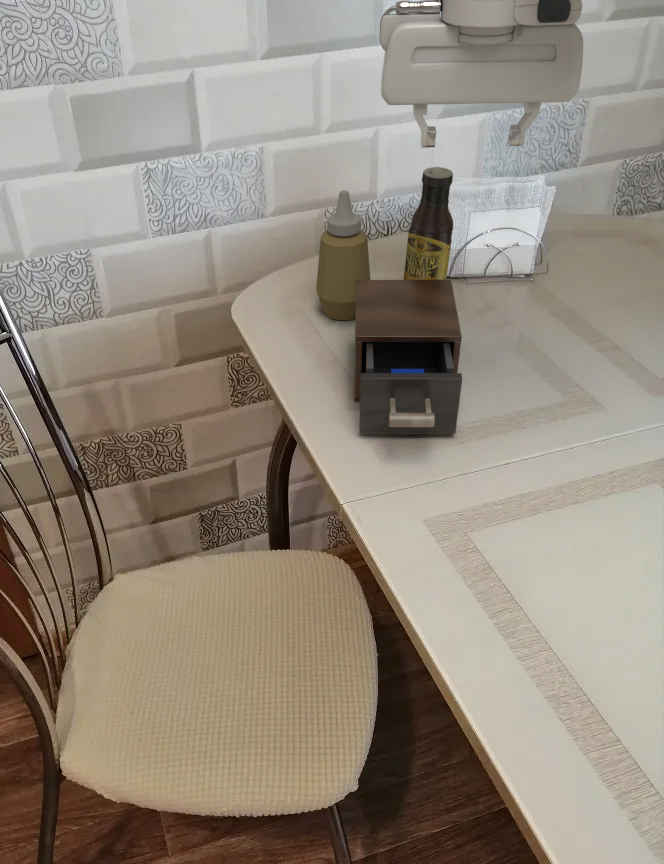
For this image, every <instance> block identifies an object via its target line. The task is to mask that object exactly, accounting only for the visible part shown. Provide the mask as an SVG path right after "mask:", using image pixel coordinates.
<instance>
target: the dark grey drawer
mask: <svg viewBox="0 0 664 864" xmlns="http://www.w3.org/2000/svg"><path fill="white" fill-rule="evenodd" d="M391 369H424V373H391ZM453 371H454V367H453V361H452V355H451V348H450V342H365V373H361V384H360V402H359V428H358V430H359V431H358V432H359V434H404V435H405V434H411V435H412V434H413V435H414V434H415V435H416V434H418V435H419V434H422V435H425V434H426V435H428V434H429V435H456V431H457V425H458V424H457V423H458V416H459V407H460V400H461V394H462V393H461V392H462V384H463V376H462V372H461V373H460V372H457V373H453Z"/></svg>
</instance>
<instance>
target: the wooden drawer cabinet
mask: <svg viewBox="0 0 664 864" xmlns="http://www.w3.org/2000/svg"><path fill="white" fill-rule="evenodd" d="M458 315H459V314H458V309H457V304H456V300H455V293H454V288H453V283H452V279H449V278H448V279H447V278H446V280H403V279H370V280H356V299H355V318H354V391H353V392H354V399H353V400H354V403H360V384H361V373H365V342H450V348H451V355H452V361H453V367H454V371H453V373H459V372H458V370H459V362H460V356H461V347H462V338H463V336H462V331H461V326H460V319H459V316H458Z"/></svg>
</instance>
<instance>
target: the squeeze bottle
mask: <svg viewBox="0 0 664 864" xmlns="http://www.w3.org/2000/svg"><path fill="white" fill-rule="evenodd" d="M326 219H327V220H326V230H325V231H324V232H323V233H322V234H321V236H320V243H319V251H318V252H319V253H318V264H317V273H316V274H317V277H316V286H315V287H316V288H315V290H316V294H317V297H318V300H319V302H320V305H321V308H322V310H323V313H324V315H326V317H328V318H330V319H333V320H335V321H351V320H355V299H356V280H371V270H370V257H369V256H370V255H369V243H368V235H367V233H366V232H365V231H363V230H362V228H361V227H362V219H361V216H360V215H358V214H357V213H355V212H354V211H353V207H352V202H351V198H350V192H349V190H340V191H339V194H338V198H337V204H336V208H335V213H331V214H330V215H329V216H328V217H327V218H326Z"/></svg>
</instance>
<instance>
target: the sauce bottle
mask: <svg viewBox="0 0 664 864" xmlns="http://www.w3.org/2000/svg"><path fill="white" fill-rule="evenodd" d="M453 178H454V173H453V171H452V170H451V169H448V168H446V167H441V166H433V167H427V168H425V169H423V171H422V176H421V183H422V188H421V198H420V201H419V202H420V203H419V204H418V206H417V208H416V210H415V211H414V213H413V215H412V218H411V222H410V226H409V230H408V234H407V242H406V251H405V252H406V253H405V260H404V261H405V262H404V271H403V279H402V280H447V277H448V271H449V263H450V257H451V256H450V255H451V251H452V242H453V240H452V238H453V230H454V219H453V216H452V213H451V211H450V209H449V203H450V199H449V198H450V189H451V186H452V183H453Z"/></svg>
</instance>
